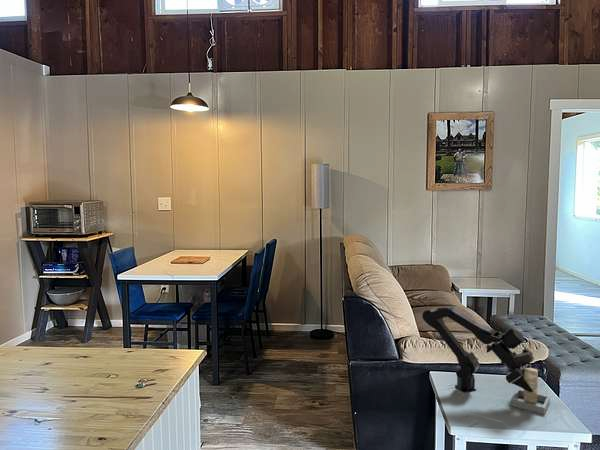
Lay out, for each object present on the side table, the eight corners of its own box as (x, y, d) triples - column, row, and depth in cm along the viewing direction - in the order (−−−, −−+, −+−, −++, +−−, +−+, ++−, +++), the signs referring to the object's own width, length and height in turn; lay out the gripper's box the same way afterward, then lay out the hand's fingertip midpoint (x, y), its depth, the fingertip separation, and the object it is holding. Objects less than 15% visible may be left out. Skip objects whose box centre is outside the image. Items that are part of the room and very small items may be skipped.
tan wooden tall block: (529, 407, 178) (530, 373, 177) (520, 402, 182) (521, 368, 181) (539, 406, 179) (540, 371, 178) (531, 400, 184) (531, 367, 183)
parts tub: (510, 405, 180) (510, 399, 179) (517, 394, 189) (517, 389, 189) (544, 414, 172) (544, 407, 172) (549, 402, 182) (549, 396, 182)
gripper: (515, 350, 174) (546, 385, 168) (525, 338, 189) (554, 369, 183) (493, 366, 179) (523, 400, 173) (505, 352, 194) (533, 383, 188)
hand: (534, 387), depth 179 cm, fingers open, 9 cm apart
